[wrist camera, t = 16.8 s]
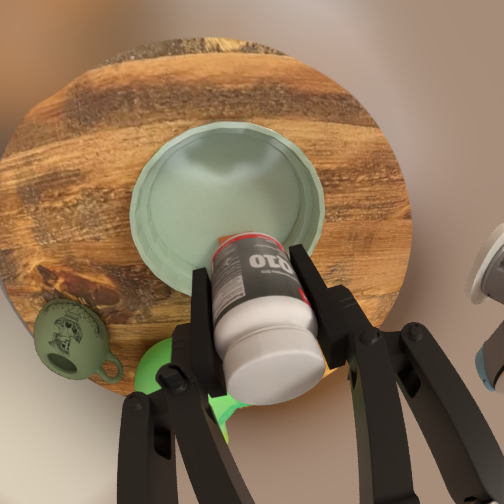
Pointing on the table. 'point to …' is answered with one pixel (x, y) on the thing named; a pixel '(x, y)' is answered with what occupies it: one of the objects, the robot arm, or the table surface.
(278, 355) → the pill bottle
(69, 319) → the mug
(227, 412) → the toy bird
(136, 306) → the table surface
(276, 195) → the bowl
